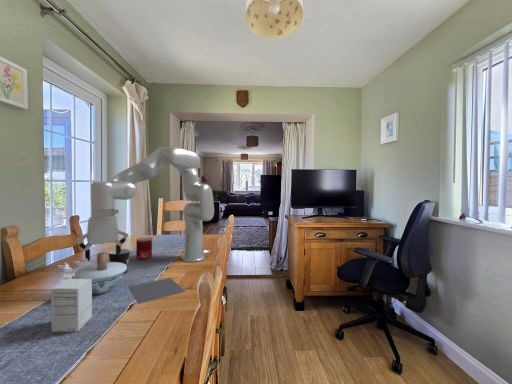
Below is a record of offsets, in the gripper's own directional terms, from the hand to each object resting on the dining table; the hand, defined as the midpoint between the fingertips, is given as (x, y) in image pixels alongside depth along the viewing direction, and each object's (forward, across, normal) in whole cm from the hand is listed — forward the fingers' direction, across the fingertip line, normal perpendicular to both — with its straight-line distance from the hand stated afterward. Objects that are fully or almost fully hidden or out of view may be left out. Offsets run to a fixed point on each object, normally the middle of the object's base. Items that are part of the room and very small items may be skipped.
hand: (103, 257), depth 97 cm
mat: (+13, -16, +11) cm, 24 cm away
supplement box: (+13, +10, +21) cm, 27 cm away
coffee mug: (+14, -9, -19) cm, 25 cm away
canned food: (+14, -23, -35) cm, 44 cm away
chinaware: (+13, +1, 0) cm, 13 cm away
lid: (+5, +1, 0) cm, 5 cm away
